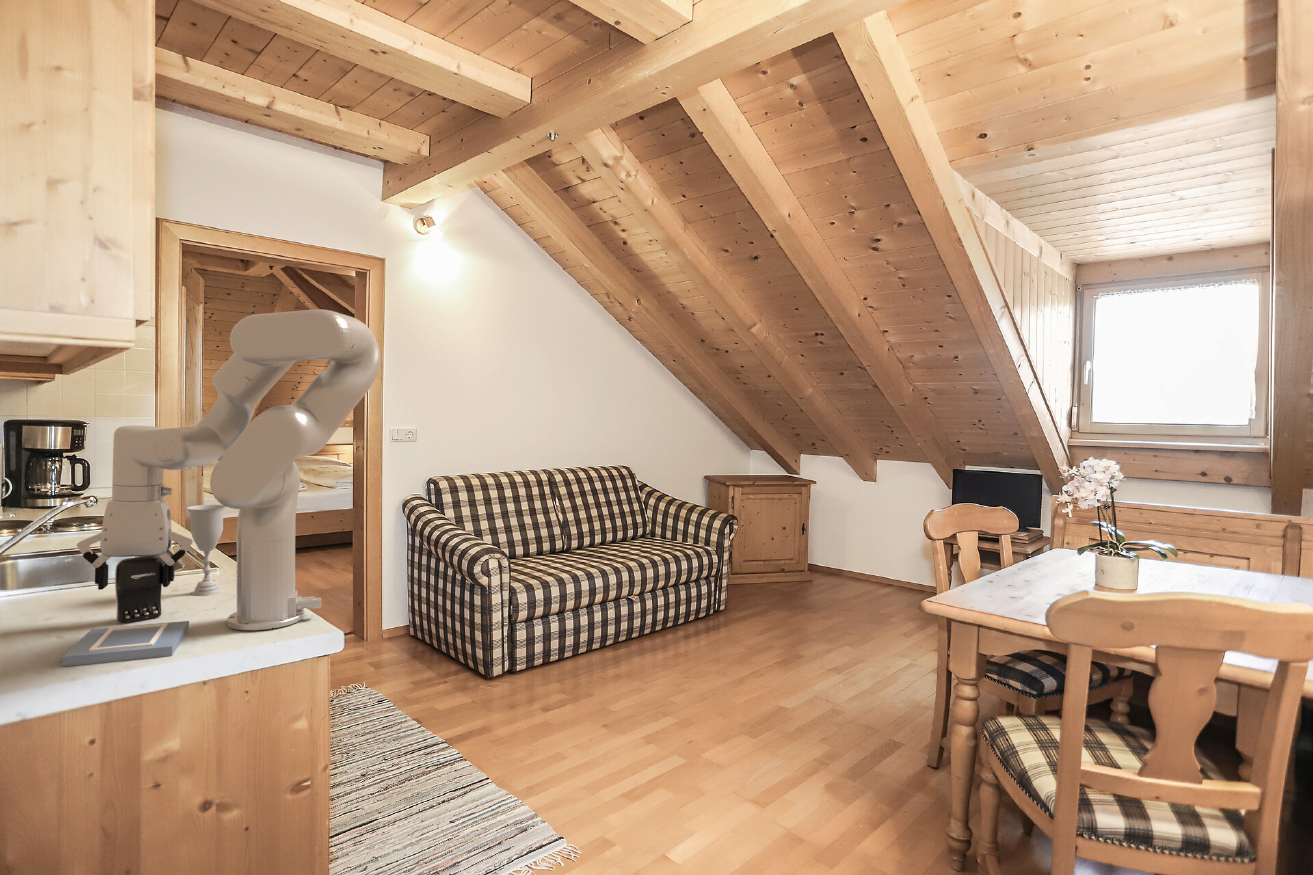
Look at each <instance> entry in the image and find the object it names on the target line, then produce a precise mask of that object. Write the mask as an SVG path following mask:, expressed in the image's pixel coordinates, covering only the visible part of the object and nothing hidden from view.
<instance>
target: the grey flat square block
mask: <svg viewBox="0 0 1313 875" xmlns="http://www.w3.org/2000/svg"><path fill="white" fill-rule="evenodd" d="M189 630H190V620H183V621H171V622H160V623H159V622H158V623H149V624H148V623H147V624H137V625H136V624H134V625H125V626H123V625H122V626H112V627H111V626H109V627H100V628H91V629H90V630H89V631H88V632H86V634H84V636H82V638H80V639H79V640H78V641H77V642H76V643H75V644H74V645H73V646H72V647H71V648H70V649H69V650H68V651H66V653H65V654H63V656H62V657H61V660H62V661H61V665H62V667H71V666H82V665H92V664H101V663H103V664H104V663H113V662H122V661H130V660H131V661H132V660H139V659H140V660H141V658H143V659H151V658H160V657H161V658H162V657H171V656H172V657H173V655H174V653H175V652H176V651H177V649H178V648H179V646H180V644H182V643H181V642H182V640H183V639H184V638H185V637H186V635H187V633H188V631H189Z"/></svg>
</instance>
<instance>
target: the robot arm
mask: <svg viewBox="0 0 1313 875" xmlns="http://www.w3.org/2000/svg"><path fill="white" fill-rule="evenodd" d="M229 335H230V336H229V344H230V348H231V350H232V351H233V353H232V354H231V355H230V356H229V358H228V359H227V360H226V361H225V362H223V363H222V366H220V368H219V369H218V370H217V371H216V372H215V373H214V374H213V375H212V379H211V380H212V381H211V382H212V384H213V386H214V388H215V390H216V392H217V398H216V400H215V403H214V405H212V407H211V409H210V410H209V412H207V413H206V414H205V416H204V417H203V418H201V420H200V421H199V422H198V423H197V424H196V425H195V426H181V427H171V428H169V427H168V428H160V427H158V426H150V425H122V426H119V427H117V428H116V429H115V430H114V433H113V443H112V444H113V446H112V447H113V448H112V479H111V480H112V482H111V483H112V485H111V486H112V487H111V499H110V500H108V501H107V504H106V505H105V511H104V515H103V520H102V526H101V532H99V533H97V534H95V535H93V536H89V537H87V538H85V539H82V540H81V541H78V542H77V543H76V547H77V549H78V550H79V552H80V554H81V555H82V557H83V559H85V560H86V561H87V562H88V563H90V565H92V567H93V568H94V585H97V590H99V591H101V590H102V591H103V589H106V587H108V586H109V585H108V584H109V564H108V563H107V561H108V560H109V559H110V558H125V557H126V558H127V557H128V558H134V557H142V556H155V557H158V558H160V560H161V561H163V562H164V565H163V584H162V587H163V588H168V587H170V584H171V582H174V581H175V567H176V566H175V564H176V563H177V562H178V561H180V560H181V558H183V557H184V556H185V555H186V553H187V552H188V551H189V549H190V547H191V546H192V545H193V543H194V540H193V538H192V539H191V538H189V537H186V536H184V535H183V534H179V533H177V532H175V531H173V530H172V517H171V516H172V515H171V509H170V504H169V503H170V502H169V500H168V499H164V497H166V496H172V495H173V487H168V486H166V485H165V483H164V472H165V470H169V471H179V470H185V469H190V468H195V467H202V466H208V465H210V464H211V465H212V463H214V462H216V461H217V463H216V465H215V466H214V468H213V470H212V472H211V475H210V481H209V484H210V487H209V488H210V490H211V494H212V495H213V497H214V498H215V500H216V502H218V503H219V504H220V505H224V506H226V507H225V508H229V509H233V510H238V515H237V520H236V521H237V522H236V611H235V612H233V613H231V614H230V615H228V617H227V618H226V625H227V627H229V628H230V629H233V630H239V631H266V630H272V628H273V629H278V628H284V627H287V626H290V625H293V624H295V623H298V622H300V621H301V620H303V619H304V618H305V610H304V608H305V609H321V608H322V597H316V596H312V595H311V596H305V597H303V596H302V595H298V593H299V592H298V590H297V589H296V524H297V523H296V518H297V517H296V516H297V504H298V500H299V493H300V492H299V491H300V485H301V475H300V474H301V473H300V470H299V467H298V465H297V463H296V459H300V458H306V457H309V456H313V455H315V454H317V453H319V452H320V451H321V450H322V449H323V448H324V447H325V446H326V444H328V442H329V441H330V439H331V438H332V437H333V435H335V433H336V431H338V429H339V428H340V427H341V425H342V424H343V423H344V422H345V420H346V419H347V418H349V416H350V414H351V413H352V411H353V410H354V409H355V408H356V406H358V405H359V403H360V402H361V401H362V400H363V398H364V396H366V394H367V393H368V392H369V390H370V389H371V388H372V386H373V384H374V383H375V380H376V379H377V376H378V374H379V371H380V366H381V351H380V347H379V344H378V341H377V339H376V336H375V335H374V332H372V330H371V329H370V327H368V326H367V325H366V324H365V323H364V322H363V321H361V320H360V319H358V318H355V317H353V316H350V315H347V314H343V313H340V312H337V311H334V310H330V309H329V310H328V309H321V308H320V309H318V308H317V309H303V310H294V311H293V310H292V311H281V312H270V313H269V312H268V313H266V312H265V313H258V314H251V315H247V316H245V317H244V318H242V319H240V320H239V321H238V322H236V323H235V325H234V326H233V327H232V329H231V332H230V334H229ZM309 360H326V361H327V360H328V361H330V362H329V365H327V367H326V368H325V369H323V370H322V371H321V372H320V373H319V374H318V375H317V376H316V377H315V378H314V379H313V380H312V381H311V382H310V384H309V385H308V387H306V389H305V390H304V391H303V392H302V393H301V395H299V397H298V398H297V399H296V400H295V401H294V402H293V403H290V404H283V405H276V406H271V407H269V408H267V409H265V410H263V411H262V412H260V413H259V414H258V415H256V416H255V417H254V416H253V415H254V413H255V409H256V407H257V405H258V404H259V402H261V401H262V399H263V398H264V397H265V396H266V395H267V394H268V392H269V391H270V390H271V389H272V388H273V387H274V386H275V385H276V383H277V382H279V380H280V379H281V378H282V377H283V376H284V375H285V374H286V373H287V372H288V371H289V370H290V369H291V367H292V366H293V365H294V364H295V363H296V362H297V361H298V362H299V361H309ZM252 417H254V418H253V419H252ZM172 541H173V542H176V543H178V544H179V545H180V548H179V550H178V551H176V552H175V553H174V552H173V551H171V547H172ZM98 542H100V544H99V545H100V547H99V548H100V554H101V555H98V554H97V553H96V552H94V551H93V549H92V548H91V545H93V544H97V543H98Z"/></svg>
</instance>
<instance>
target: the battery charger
mask: <svg viewBox="0 0 1313 875" xmlns="http://www.w3.org/2000/svg"><path fill="white" fill-rule="evenodd" d="M163 564H164V563H163V562H162V559H159V557H158V556H136V557H128V558H127V557H126V558H123V559H121V560H119V561H118V562H117V564H116V565H115V572H114V581H115V582H114V585H115V587H114V588H115V600H116V621H117V622H120V623H133V622H140V621H145V620H150V619H155V618H159V617H160V616H161V615H162V587H163V566H164V565H163Z"/></svg>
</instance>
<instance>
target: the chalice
mask: <svg viewBox="0 0 1313 875" xmlns="http://www.w3.org/2000/svg"><path fill="white" fill-rule="evenodd" d="M226 508H227V507H226V506H224V505H222V504H200V505H192V506H187V510H188V512H189V513H190V514H189V515H190V516H189V518H190V519H189V520H190V521H189V525H190V528H189V530H190V531H189V532H190V535H191V536H192V540H193V542H194V544H195V545H196V546H197V548H198V550H199V551H201V552H203V554H204V557H203V560H202V562H203V565H204V566H203V568H202V571H203V574H204V577H203V578H202V580H200V581H199V582H197V584H196V586H195V588H194V591H193V592H192V595H193V596H197V597H198V596H202V597H203V596H212V595H216V594H219V593H221V592H222V589H221V588H220V586H219V585H218V582H217V581H216V580H214V579H212V578H211V576H210V574H211V571H212V569H213V568H212V567H211V566H210V563H211V562H212V559H211V557H210V554H211V553H210V552H211V551H213V550H216V546H217V545H218V543H219V541H220V539H221V536H222V533H223V530H224V511H225V509H226Z"/></svg>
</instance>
